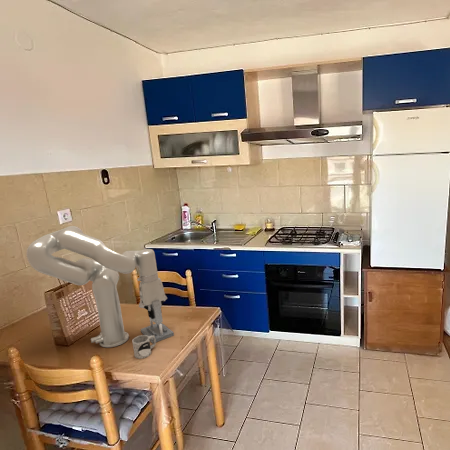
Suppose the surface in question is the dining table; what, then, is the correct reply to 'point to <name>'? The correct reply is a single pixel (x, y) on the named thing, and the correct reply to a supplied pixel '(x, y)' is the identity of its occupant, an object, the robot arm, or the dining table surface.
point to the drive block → (156, 312)
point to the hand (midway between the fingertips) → (155, 316)
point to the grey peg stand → (157, 331)
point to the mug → (143, 346)
